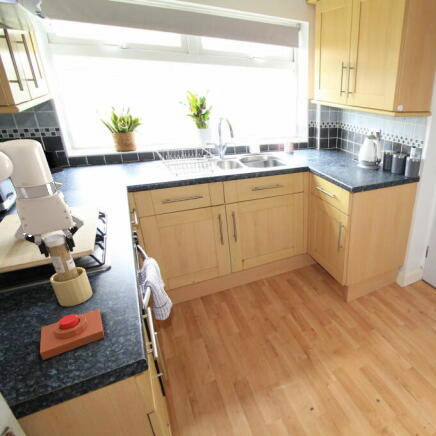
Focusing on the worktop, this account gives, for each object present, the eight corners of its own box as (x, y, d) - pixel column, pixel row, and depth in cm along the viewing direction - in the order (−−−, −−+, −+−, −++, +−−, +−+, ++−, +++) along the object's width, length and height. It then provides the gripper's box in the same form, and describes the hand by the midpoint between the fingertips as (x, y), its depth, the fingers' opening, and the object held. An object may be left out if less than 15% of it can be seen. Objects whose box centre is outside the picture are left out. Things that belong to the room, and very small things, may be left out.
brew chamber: (59, 310, 89) (49, 286, 86) (59, 295, 95) (50, 272, 91) (93, 299, 94) (86, 276, 90) (91, 285, 99) (84, 264, 96)
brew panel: (43, 360, 74) (37, 347, 72) (44, 334, 81) (39, 321, 79) (104, 337, 81) (100, 325, 79) (100, 315, 88) (96, 303, 86)
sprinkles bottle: (82, 277, 92) (67, 236, 86) (63, 284, 88) (47, 242, 83) (74, 271, 94) (60, 231, 89) (56, 279, 91) (40, 237, 85)
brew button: (60, 332, 77) (58, 326, 76) (60, 323, 79) (58, 318, 79) (79, 325, 79) (77, 320, 78) (78, 317, 82) (76, 312, 81)
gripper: (77, 180, 88) (95, 239, 95) (-8, 192, 78) (19, 255, 86) (78, 188, 82) (97, 249, 90) (-13, 201, 73) (17, 268, 80)
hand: (59, 251), depth 88 cm, fingers closed on sprinkles bottle, 4 cm apart
